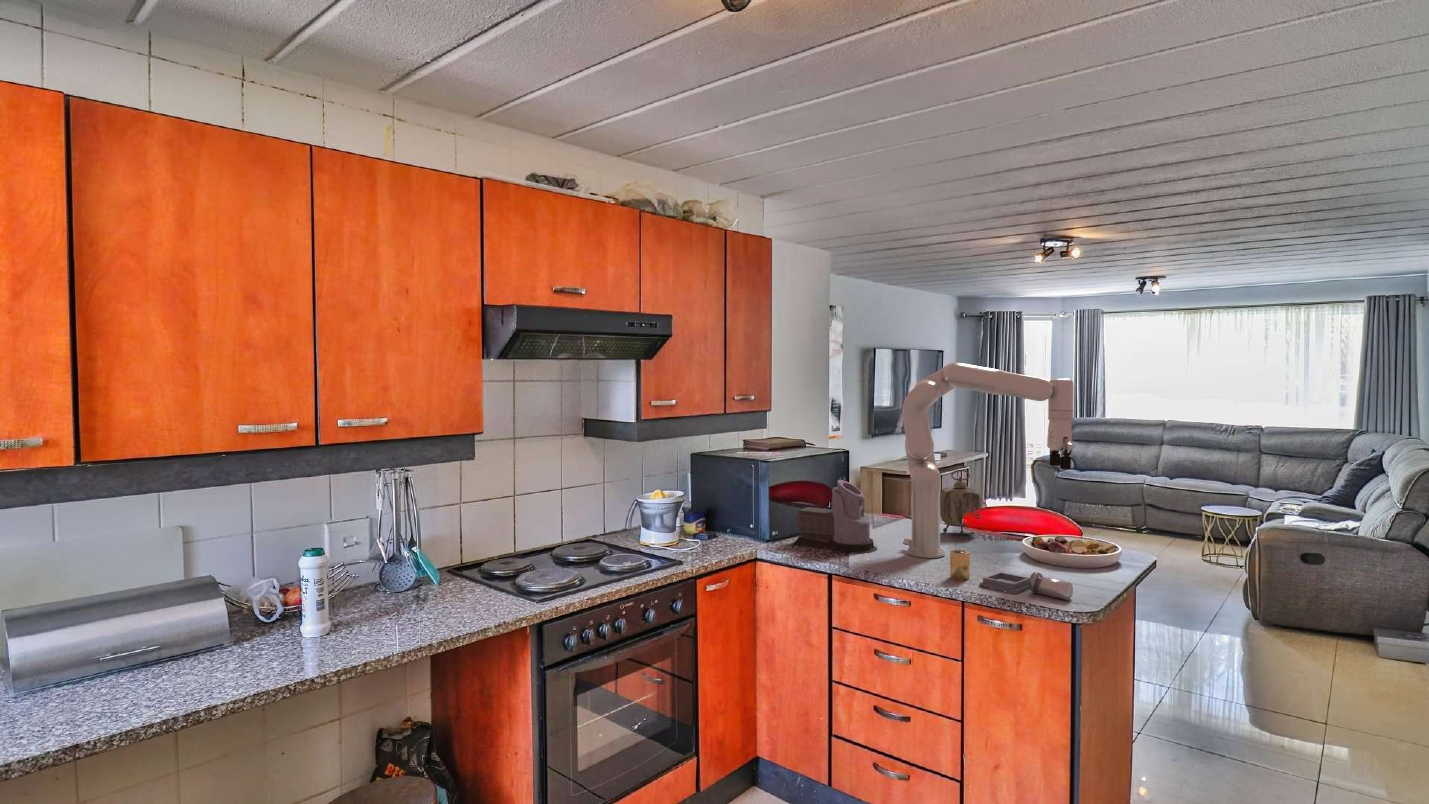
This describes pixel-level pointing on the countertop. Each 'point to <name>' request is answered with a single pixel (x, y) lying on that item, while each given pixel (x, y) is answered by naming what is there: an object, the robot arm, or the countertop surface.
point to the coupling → (960, 565)
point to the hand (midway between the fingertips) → (1059, 467)
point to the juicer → (837, 523)
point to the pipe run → (1050, 587)
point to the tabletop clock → (958, 503)
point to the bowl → (1071, 551)
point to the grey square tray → (1006, 582)
